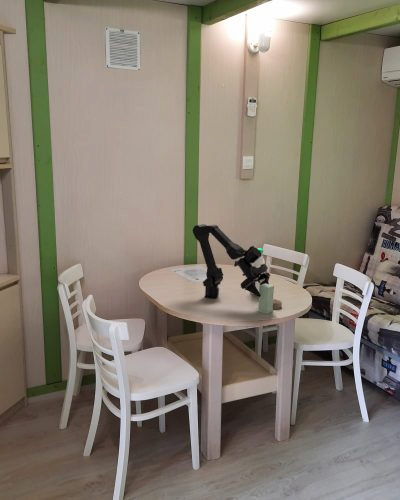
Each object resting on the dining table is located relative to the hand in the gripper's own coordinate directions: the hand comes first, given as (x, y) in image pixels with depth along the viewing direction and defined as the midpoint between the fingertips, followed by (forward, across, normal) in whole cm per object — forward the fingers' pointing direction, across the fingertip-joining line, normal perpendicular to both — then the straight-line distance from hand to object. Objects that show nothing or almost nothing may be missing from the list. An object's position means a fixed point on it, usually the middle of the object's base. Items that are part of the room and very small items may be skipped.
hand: (265, 294), depth 229 cm
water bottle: (-8, +22, +20) cm, 30 cm away
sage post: (+6, 0, +6) cm, 8 cm away
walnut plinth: (+6, +9, +6) cm, 12 cm away
